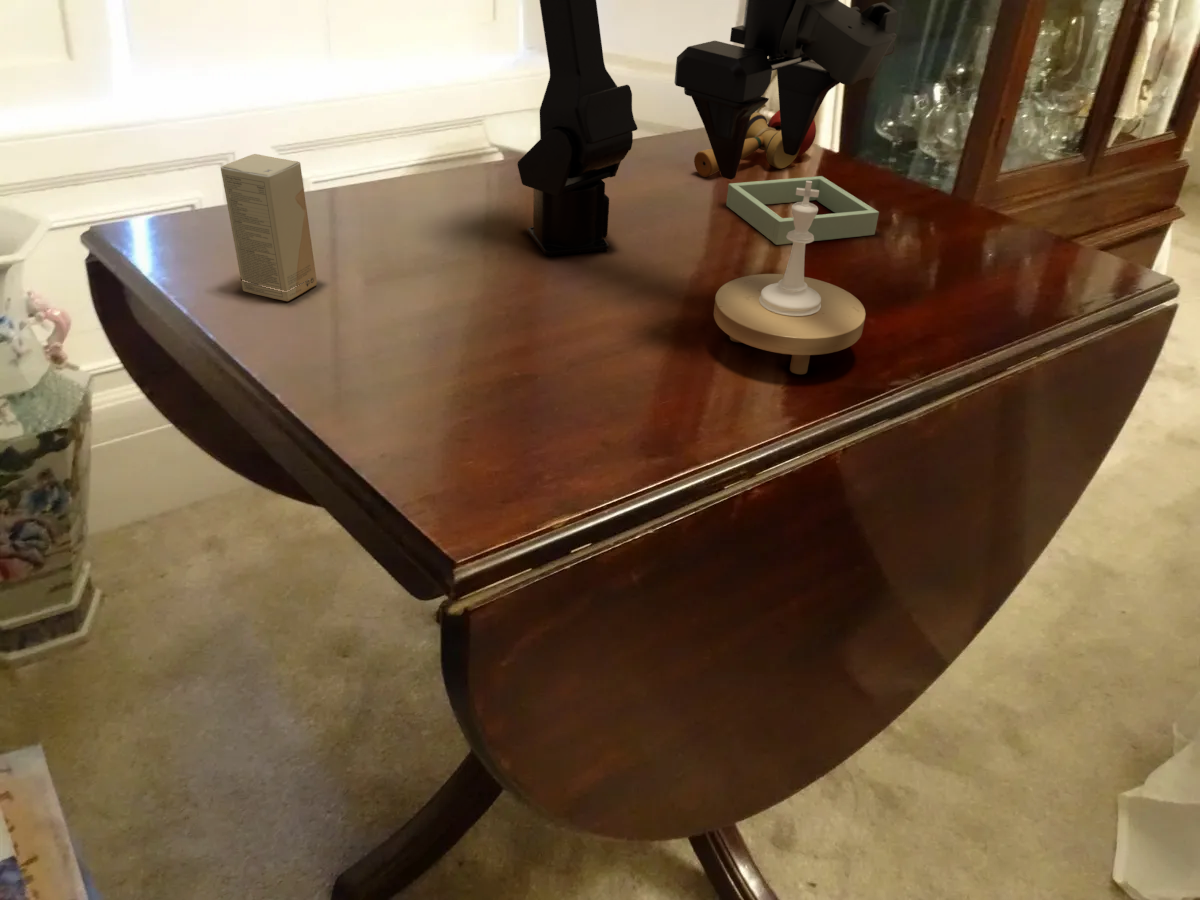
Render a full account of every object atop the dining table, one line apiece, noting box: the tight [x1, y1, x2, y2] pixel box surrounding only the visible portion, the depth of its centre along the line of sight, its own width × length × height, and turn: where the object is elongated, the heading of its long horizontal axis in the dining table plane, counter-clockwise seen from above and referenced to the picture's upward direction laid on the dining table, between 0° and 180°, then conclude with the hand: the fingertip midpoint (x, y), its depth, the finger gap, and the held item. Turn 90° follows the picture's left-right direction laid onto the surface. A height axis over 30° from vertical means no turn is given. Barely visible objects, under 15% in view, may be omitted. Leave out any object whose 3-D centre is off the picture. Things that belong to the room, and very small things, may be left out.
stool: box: [713, 273, 867, 375], centre depth 84 cm, size 12×12×4 cm
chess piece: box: [759, 180, 821, 316], centre depth 80 cm, size 5×5×10 cm
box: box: [220, 153, 318, 302], centre depth 88 cm, size 5×4×11 cm
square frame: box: [725, 175, 880, 246], centre depth 110 cm, size 12×12×2 cm
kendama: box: [693, 109, 817, 178], centre depth 124 cm, size 8×6×18 cm
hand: (760, 165), depth 85 cm, fingers open, 9 cm apart
